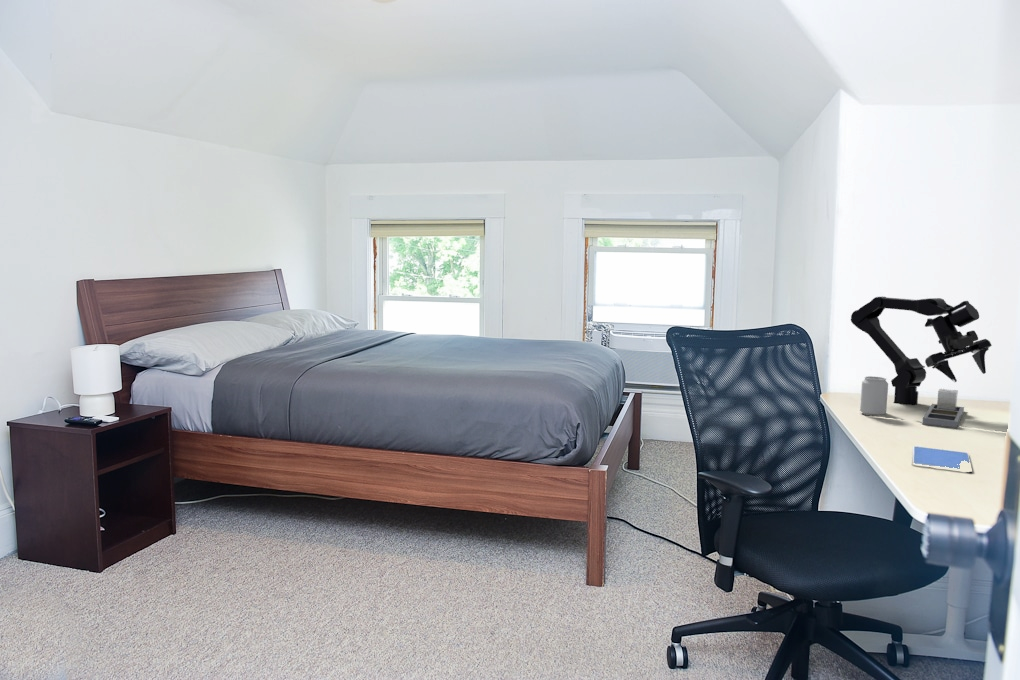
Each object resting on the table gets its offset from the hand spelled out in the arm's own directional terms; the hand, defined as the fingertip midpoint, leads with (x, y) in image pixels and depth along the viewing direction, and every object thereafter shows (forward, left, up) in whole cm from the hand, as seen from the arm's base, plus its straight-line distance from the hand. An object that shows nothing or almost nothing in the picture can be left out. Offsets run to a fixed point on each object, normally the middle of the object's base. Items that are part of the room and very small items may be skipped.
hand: (970, 377), depth 230 cm
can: (-25, -17, -12) cm, 32 cm away
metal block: (-6, -1, -12) cm, 13 cm away
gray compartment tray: (-6, -10, -12) cm, 17 cm away
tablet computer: (-2, -66, -13) cm, 67 cm away
